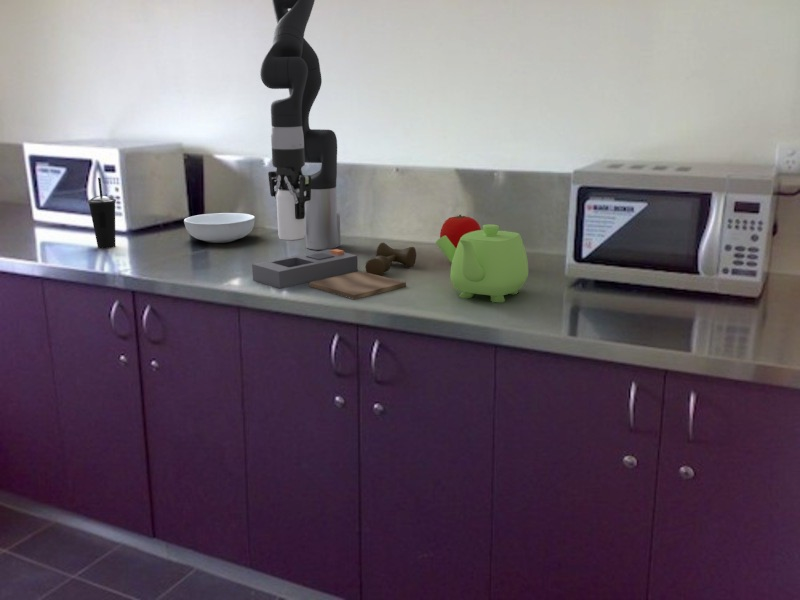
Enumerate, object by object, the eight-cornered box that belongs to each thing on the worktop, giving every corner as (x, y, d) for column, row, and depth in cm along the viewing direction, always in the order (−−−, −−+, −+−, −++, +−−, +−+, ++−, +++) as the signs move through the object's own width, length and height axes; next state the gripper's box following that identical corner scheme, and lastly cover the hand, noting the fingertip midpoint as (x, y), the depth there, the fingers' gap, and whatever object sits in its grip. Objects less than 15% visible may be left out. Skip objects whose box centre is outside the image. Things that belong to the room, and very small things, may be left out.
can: (300, 241, 186) (298, 190, 182) (274, 240, 187) (271, 190, 184) (309, 235, 192) (307, 186, 189) (283, 235, 193) (281, 186, 190)
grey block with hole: (330, 264, 207) (329, 246, 205) (357, 271, 199) (357, 252, 198) (252, 280, 191) (251, 260, 189) (279, 288, 183) (278, 268, 182)
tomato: (487, 266, 203) (488, 217, 199) (447, 269, 200) (448, 219, 197) (472, 257, 213) (473, 210, 210) (434, 259, 211) (435, 212, 207)
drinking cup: (126, 245, 230) (119, 177, 225) (104, 250, 224) (96, 180, 219) (109, 243, 234) (101, 175, 229) (87, 247, 228) (79, 178, 223)
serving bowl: (266, 235, 246) (265, 213, 244) (238, 248, 226) (237, 225, 224) (205, 232, 250) (203, 210, 248) (172, 245, 231) (170, 222, 229)
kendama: (356, 277, 195) (389, 259, 212) (391, 282, 191) (422, 263, 208) (355, 254, 193) (389, 237, 210) (391, 259, 189) (423, 241, 207)
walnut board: (360, 274, 195) (360, 270, 195) (405, 286, 184) (405, 282, 184) (309, 286, 184) (309, 282, 184) (354, 299, 173) (353, 295, 173)
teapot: (456, 277, 193) (457, 212, 188) (540, 288, 182) (543, 220, 178) (405, 301, 172) (405, 229, 168) (495, 315, 161) (498, 239, 157)
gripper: (319, 147, 181) (322, 218, 186) (282, 143, 191) (286, 211, 196) (293, 149, 176) (296, 223, 181) (256, 145, 186) (260, 215, 191)
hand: (291, 216), depth 188 cm, fingers closed on can, 6 cm apart
